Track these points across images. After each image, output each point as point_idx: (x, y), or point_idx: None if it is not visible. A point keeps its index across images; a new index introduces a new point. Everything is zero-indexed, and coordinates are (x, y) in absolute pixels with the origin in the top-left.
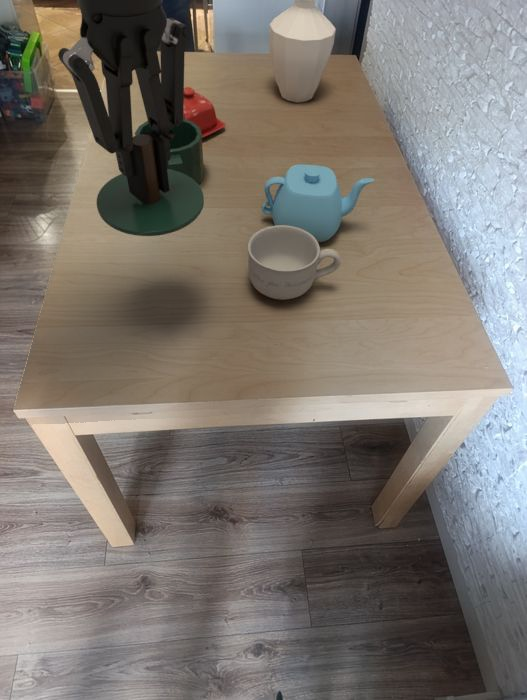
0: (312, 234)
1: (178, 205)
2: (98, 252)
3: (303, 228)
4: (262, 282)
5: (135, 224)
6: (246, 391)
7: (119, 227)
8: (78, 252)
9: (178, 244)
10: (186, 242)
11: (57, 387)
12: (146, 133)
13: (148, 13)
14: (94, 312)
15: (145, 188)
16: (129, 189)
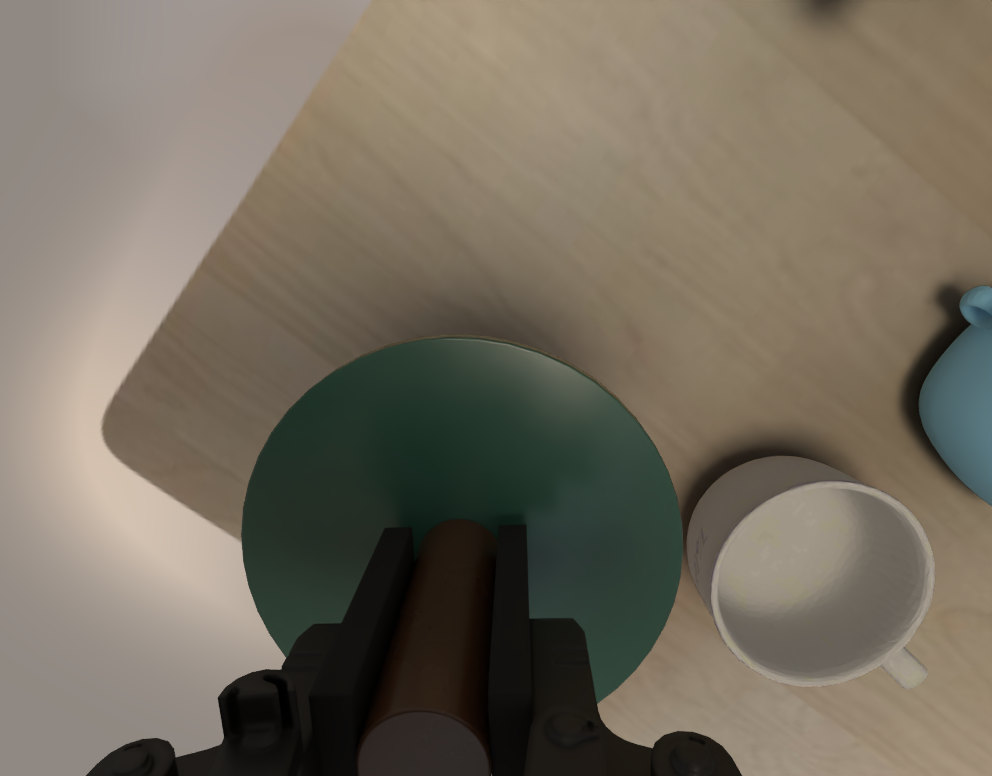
0: (974, 490)
1: None
2: (448, 90)
3: (971, 475)
4: (695, 578)
5: None
6: None
7: (267, 627)
8: (398, 49)
9: (660, 216)
10: (684, 223)
11: (165, 445)
12: (491, 717)
13: None
14: (327, 303)
15: None
16: (381, 536)
